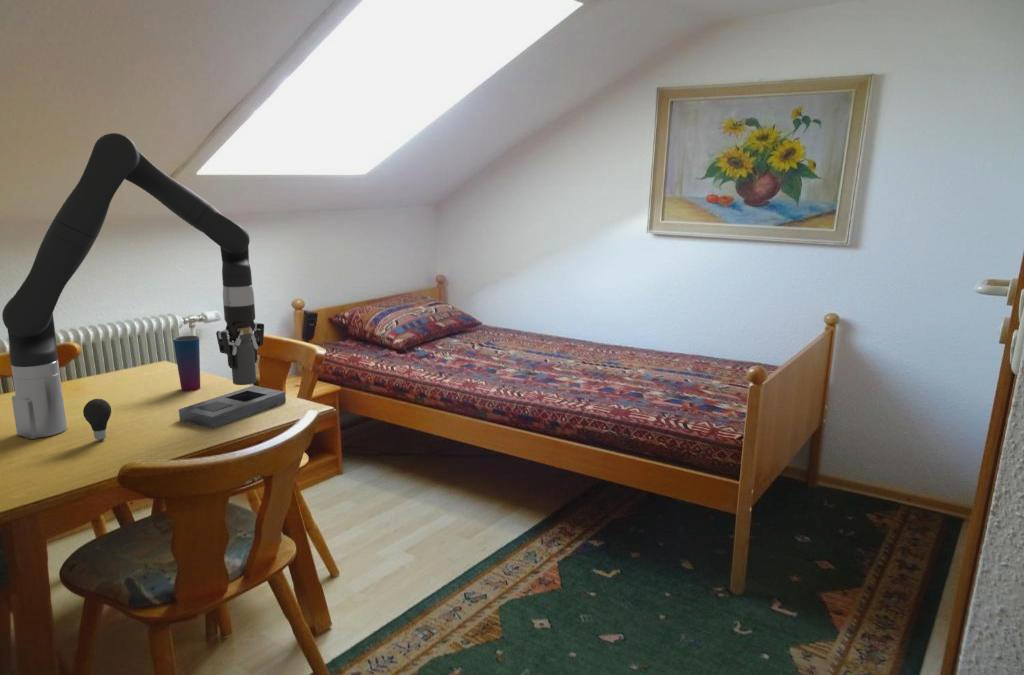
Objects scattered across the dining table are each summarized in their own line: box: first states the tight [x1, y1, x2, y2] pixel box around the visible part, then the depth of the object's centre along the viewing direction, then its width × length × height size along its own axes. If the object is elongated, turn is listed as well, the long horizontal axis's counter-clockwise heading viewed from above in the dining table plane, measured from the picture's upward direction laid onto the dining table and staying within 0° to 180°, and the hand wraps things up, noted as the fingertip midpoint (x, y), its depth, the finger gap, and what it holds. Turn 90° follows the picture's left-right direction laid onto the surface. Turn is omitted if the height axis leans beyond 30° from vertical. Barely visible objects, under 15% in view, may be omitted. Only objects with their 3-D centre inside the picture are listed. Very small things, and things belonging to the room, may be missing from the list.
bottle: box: [231, 326, 257, 386], centre depth 188 cm, size 6×6×15 cm
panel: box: [178, 385, 287, 430], centre depth 187 cm, size 24×12×3 cm, turn 152°
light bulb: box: [82, 398, 112, 442], centre depth 165 cm, size 6×6×10 cm
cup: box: [173, 335, 201, 392], centre depth 205 cm, size 7×7×15 cm
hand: (243, 365), depth 188 cm, fingers closed on bottle, 5 cm apart
